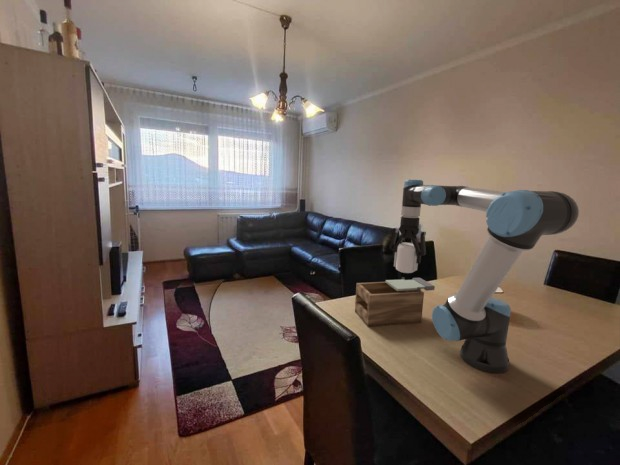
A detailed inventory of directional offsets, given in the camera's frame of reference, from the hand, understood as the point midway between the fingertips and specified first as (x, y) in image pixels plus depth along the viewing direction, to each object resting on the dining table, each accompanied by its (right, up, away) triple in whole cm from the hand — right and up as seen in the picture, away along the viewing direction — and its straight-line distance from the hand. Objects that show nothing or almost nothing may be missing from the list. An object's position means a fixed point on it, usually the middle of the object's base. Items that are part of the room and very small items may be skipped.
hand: (405, 267), depth 128 cm
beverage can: (0, -1, 0) cm, 1 cm away
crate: (-5, -24, +10) cm, 27 cm away
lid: (+5, -10, +10) cm, 15 cm away
